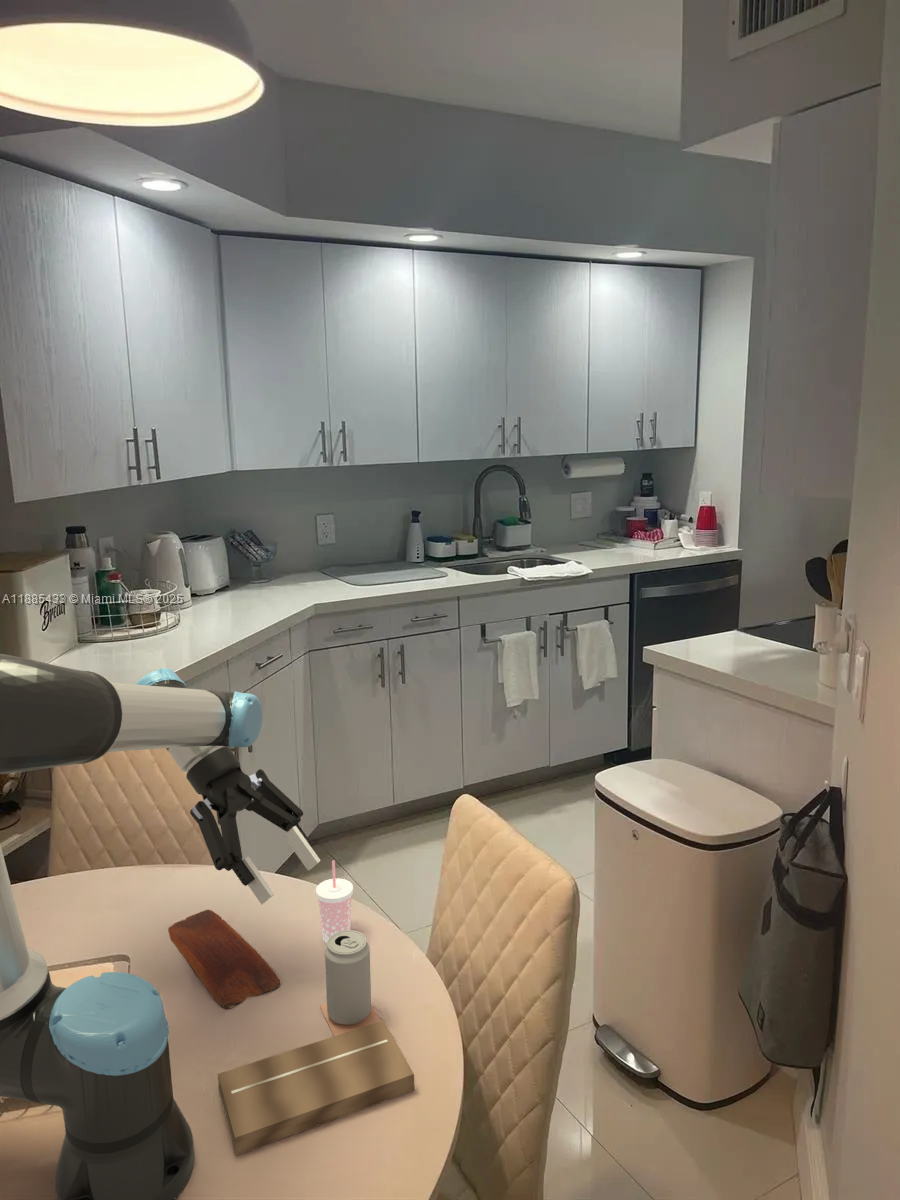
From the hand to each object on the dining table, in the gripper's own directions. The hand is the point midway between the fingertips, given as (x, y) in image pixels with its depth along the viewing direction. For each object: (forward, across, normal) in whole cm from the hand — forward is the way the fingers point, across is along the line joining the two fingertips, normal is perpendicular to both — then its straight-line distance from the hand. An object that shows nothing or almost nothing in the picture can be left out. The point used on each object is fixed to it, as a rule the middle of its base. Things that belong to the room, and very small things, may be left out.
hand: (292, 882), depth 127 cm
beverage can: (+20, 0, -6) cm, 21 cm away
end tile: (+20, 0, -6) cm, 21 cm away
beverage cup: (+11, -14, -16) cm, 24 cm away
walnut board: (+23, +13, -3) cm, 27 cm away
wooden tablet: (+2, -1, -26) cm, 26 cm away
